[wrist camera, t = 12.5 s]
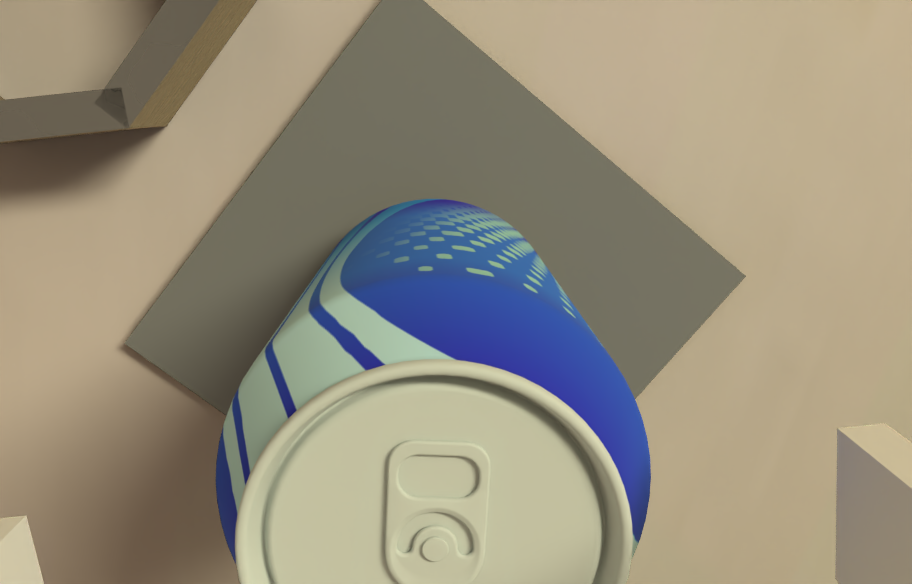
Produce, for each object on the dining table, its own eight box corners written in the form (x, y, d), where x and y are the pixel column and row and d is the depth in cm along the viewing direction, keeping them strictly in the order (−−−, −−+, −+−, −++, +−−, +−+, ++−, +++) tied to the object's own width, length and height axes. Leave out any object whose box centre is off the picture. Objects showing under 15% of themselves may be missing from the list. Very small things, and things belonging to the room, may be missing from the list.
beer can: (597, 302, 29) (794, 534, 13) (442, 462, 30) (452, 848, 14) (425, 143, 27) (414, 191, 12) (269, 319, 28) (70, 575, 13)
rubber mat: (398, -19, 26) (397, -22, 26) (740, 273, 29) (745, 276, 29) (129, 339, 29) (124, 343, 28) (466, 578, 32) (466, 585, 31)
